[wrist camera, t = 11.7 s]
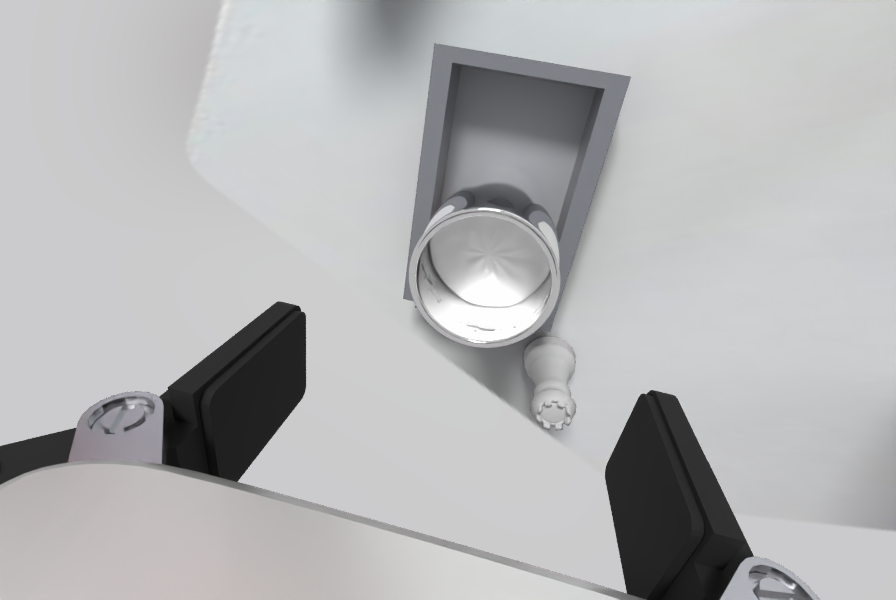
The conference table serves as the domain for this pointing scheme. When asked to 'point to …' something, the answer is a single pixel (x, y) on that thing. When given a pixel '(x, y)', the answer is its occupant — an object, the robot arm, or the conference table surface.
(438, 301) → the beer glass
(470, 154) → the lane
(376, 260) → the conference table surface
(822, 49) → the conference table surface
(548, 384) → the rook chess piece
